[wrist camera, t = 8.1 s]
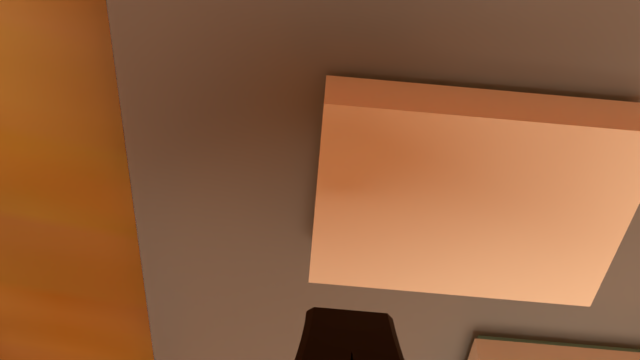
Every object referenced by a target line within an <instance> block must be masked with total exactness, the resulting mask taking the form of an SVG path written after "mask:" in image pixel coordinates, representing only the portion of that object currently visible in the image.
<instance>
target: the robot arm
mask: <svg viewBox="0 0 640 360" xmlns="http://www.w3.org/2000/svg"><path fill="white" fill-rule="evenodd" d="M295 360H404V357H403V354H402V351H401V348H400V344H399V341H398V337H397V334H396V330H395V326H394V322H393V318H392V317H391V316H390V315H389V314H388V313H379V312H367V311H355V310H344V309H332V308H320V307H313V308H311V309H309V310H307V311H306V317H305V324H304V328H303V332H302V336H301V340H300V344H299V347H298V351H297V354H296V357H295Z"/></svg>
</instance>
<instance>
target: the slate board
mask: <svg viewBox="0 0 640 360" xmlns="http://www.w3.org/2000/svg"><path fill="white" fill-rule="evenodd" d="M106 4H107V12H108V19H109V27H110V34H111V42H112V49H113V56H114V64H115V71H116V79H117V86H118V94H119V101H120V109H121V116H122V123H123V131H124V138H125V146H126V153H127V161H128V168H129V176H130V183H131V190H132V198H133V205H134V213H135V220H136V228H137V235H138V242H139V250H140V257H141V265H142V272H143V280H144V287H145V295H146V302H147V309H148V317H149V324H150V332H151V339H152V347H153V354H154V360H295V357H296V354H297V351H298V347H299V344H300V340H301V336H302V332H303V328H304V324H305V317H306V311H307V310H309V309H311V308H313V307H320V308H332V309H344V310H355V311H367V312H379V313H388V314H389V315H390V316H391V317H392V318H393V322H394V326H395V330H396V334H397V337H398V341H399V344H400V348H401V351H402V354H403V357H404V360H468V357H469V354H470V351H471V348H472V345H473V342H474V339H475V338H477V337H478V335H480V336H491V337H503V338H515V339H526V340H538V341H549V342H561V343H573V344H584V345H596V346H607V347H619V348H631V349H640V203H639V206H638V208H637V210H636V212H635V214H634V216H633V218H632V220H631V222H630V224H629V226H628V229H627V231H626V233H625V235H624V237H623V239H622V241H621V243H620V245H619V247H618V249H617V252H616V254H615V256H614V258H613V260H612V262H611V264H610V266H609V268H608V270H607V272H606V275H605V277H604V279H603V281H602V283H601V285H600V287H599V289H598V291H597V293H596V295H595V298H594V300H593V302H592V304H591V306H590V307H587V306H575V305H564V304H552V303H541V302H529V301H517V300H506V299H494V298H483V297H471V296H459V295H448V294H436V293H425V292H413V291H402V290H390V289H378V288H367V287H355V286H344V285H332V284H320V283H309V270H310V259H311V247H312V235H313V224H314V212H315V201H316V189H317V177H318V166H319V154H320V142H321V131H322V119H323V107H324V96H325V85H326V75H330V76H341V77H353V78H364V79H376V80H387V81H399V82H410V83H421V84H433V85H444V86H456V87H467V88H479V89H490V90H502V91H513V92H524V93H536V94H547V95H559V96H570V97H582V98H593V99H604V100H616V101H627V102H639V103H640V0H106Z"/></svg>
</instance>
